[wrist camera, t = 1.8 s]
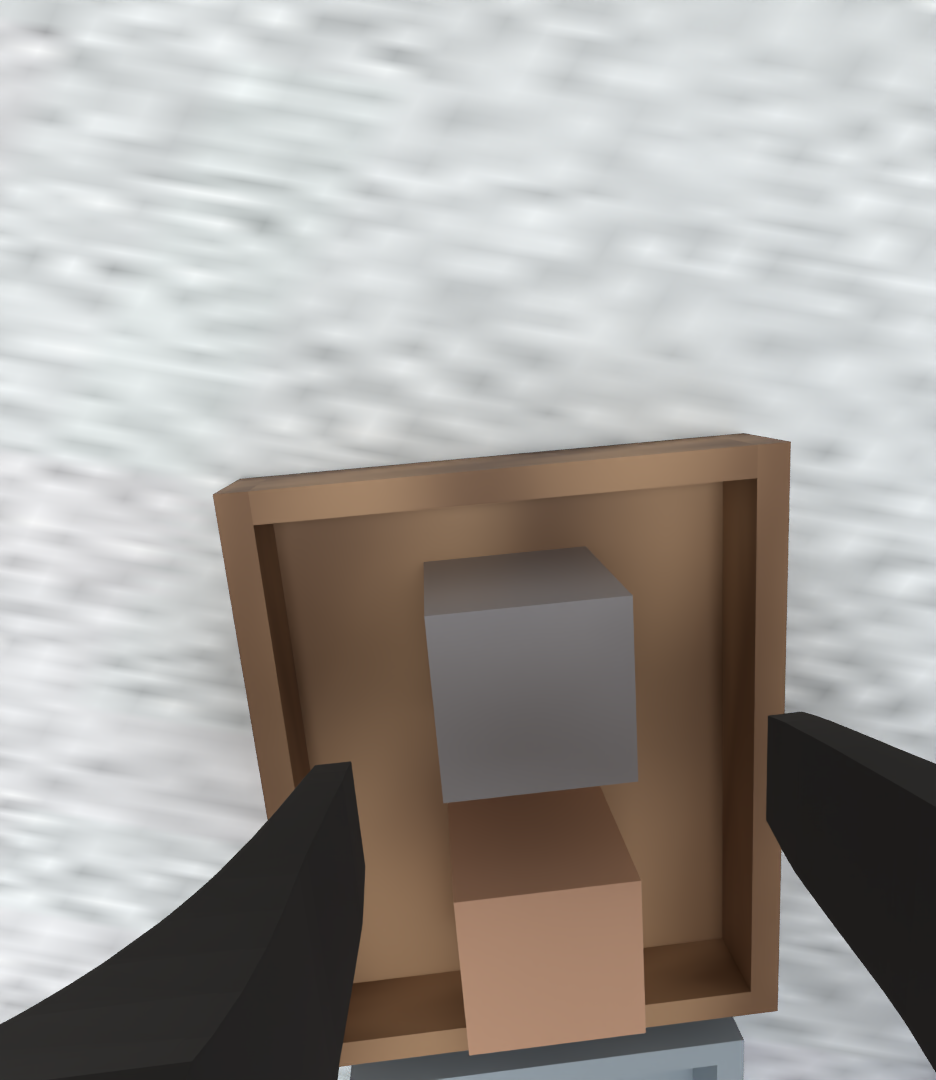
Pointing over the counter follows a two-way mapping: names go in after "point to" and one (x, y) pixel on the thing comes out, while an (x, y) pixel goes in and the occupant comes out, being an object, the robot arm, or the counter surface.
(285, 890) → the robot arm
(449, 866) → the walnut bin
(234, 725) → the counter surface
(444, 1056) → the slate tray
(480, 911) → the russet cube
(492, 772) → the grey cube
